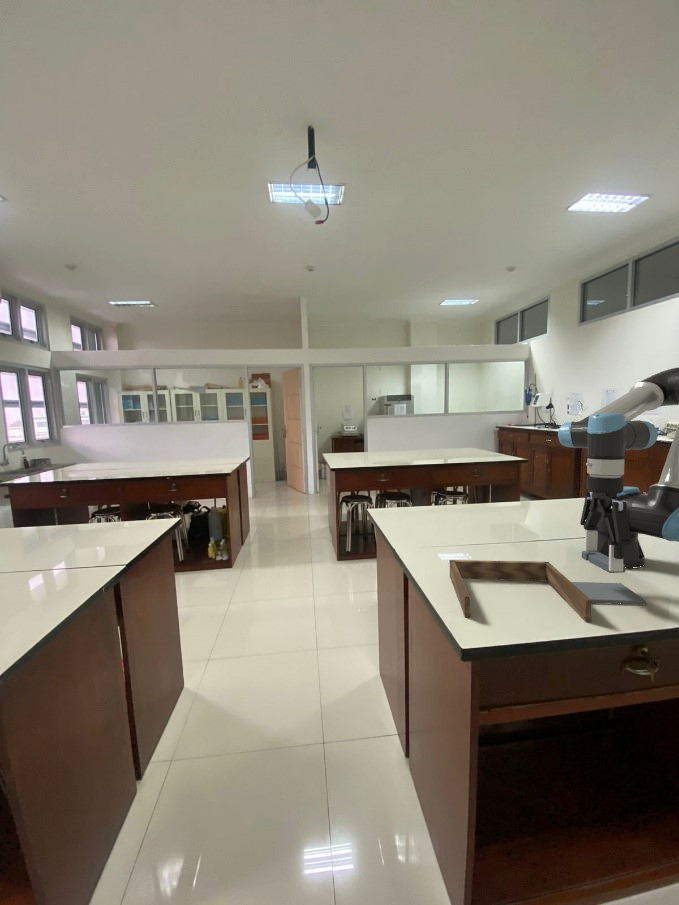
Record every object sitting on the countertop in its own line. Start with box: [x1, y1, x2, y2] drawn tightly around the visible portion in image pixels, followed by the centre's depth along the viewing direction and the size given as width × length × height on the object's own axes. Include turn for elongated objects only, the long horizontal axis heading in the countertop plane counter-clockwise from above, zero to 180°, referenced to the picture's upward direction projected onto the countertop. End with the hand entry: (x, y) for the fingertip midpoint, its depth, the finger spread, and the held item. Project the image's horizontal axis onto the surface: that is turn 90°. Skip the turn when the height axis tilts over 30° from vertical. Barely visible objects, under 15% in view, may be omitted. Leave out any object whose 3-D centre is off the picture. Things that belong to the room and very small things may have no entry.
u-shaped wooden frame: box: [449, 559, 593, 623], centre depth 95 cm, size 27×23×5 cm
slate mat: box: [571, 581, 647, 605], centre depth 94 cm, size 14×10×1 cm
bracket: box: [581, 550, 626, 574], centre depth 93 cm, size 4×10×2 cm, turn 0°
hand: (602, 562), depth 94 cm, fingers closed on bracket, 10 cm apart
